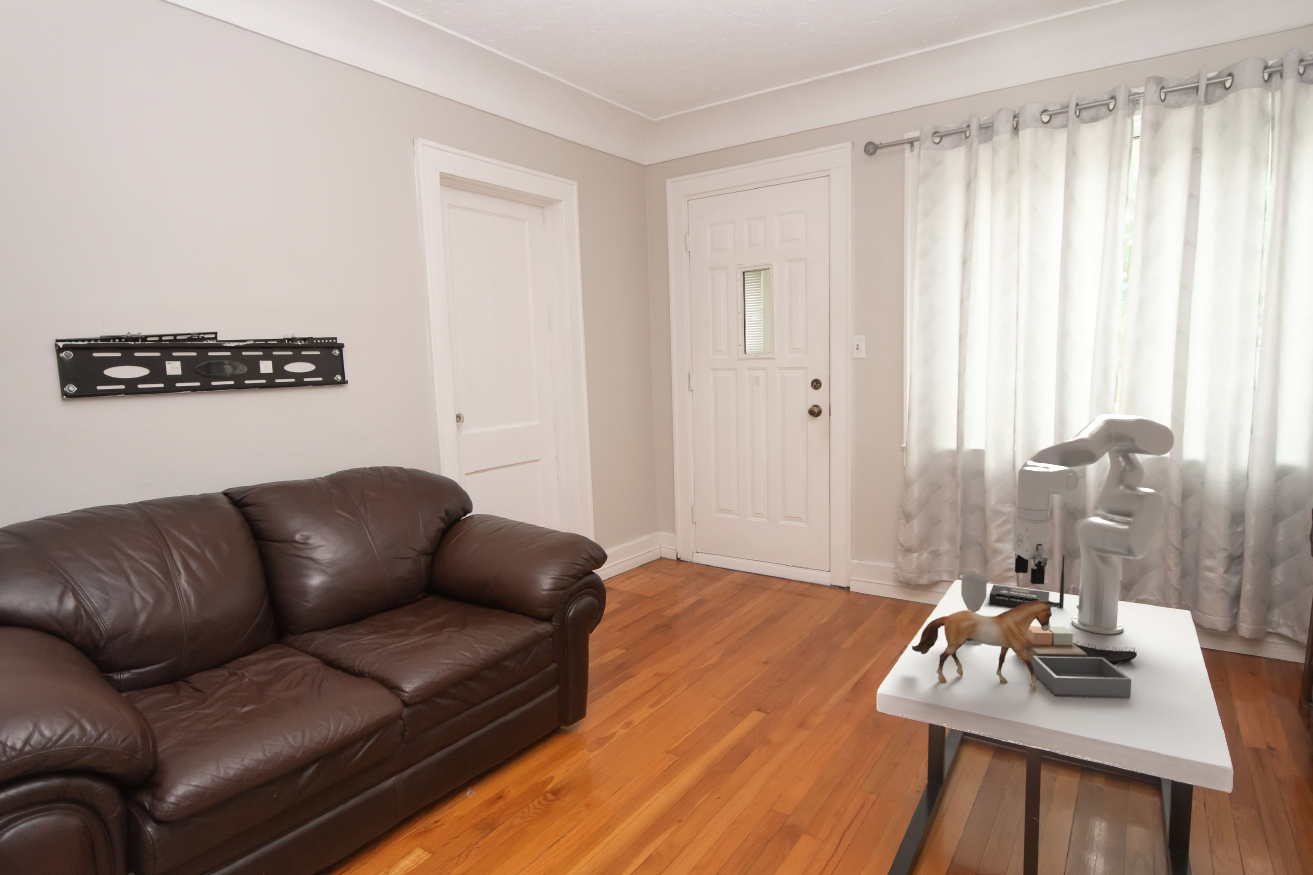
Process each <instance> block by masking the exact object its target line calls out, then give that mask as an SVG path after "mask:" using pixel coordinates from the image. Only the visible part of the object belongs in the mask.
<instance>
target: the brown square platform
mask: <svg viewBox="0 0 1313 875" xmlns="http://www.w3.org/2000/svg"><path fill="white" fill-rule="evenodd" d="M1074 643H1075V642H1073V645H1054V644H1052V645H1046V644H1032V643H1031V642H1030V641H1029V640H1028V644H1027V646H1026V648H1025V650H1026V652H1027V654H1028V657H1029V659H1030V662H1031V663H1032V656H1064V657H1087V654H1086V653H1085V652H1084V651H1082V650H1081V649H1080V648H1079V647H1077V646H1076V645H1075V644H1076V643H1075V644H1074Z"/></svg>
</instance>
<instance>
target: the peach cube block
mask: <svg viewBox="0 0 1313 875" xmlns="http://www.w3.org/2000/svg"><path fill="white" fill-rule="evenodd" d="M1027 638H1028V640H1029V641H1030V642H1031V643H1032V644H1046V645H1052V633H1051V632H1050V631H1049V630H1047V631H1043V630H1042V629H1041V625H1039V626H1037V625H1034V626H1032V625H1030V627H1029V628H1028V630H1027Z"/></svg>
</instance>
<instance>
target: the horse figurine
mask: <svg viewBox="0 0 1313 875" xmlns="http://www.w3.org/2000/svg"><path fill="white" fill-rule="evenodd" d="M1051 601H1052V600H1049V601H1047V602H1044V603H1043V602H1041V601H1038V600H1035V601H1031V602H1026V603H1023V604H1021V605H1019V606H1017V607H1015V608H1011V609H1009V610H1006V611H1003V612H1001V613H1000V614H997V615H993V616H988V615H983V614H979V613H976V612H975V613H974V612H971V611H970V610H968V609H963V610H960V611H955V612H954V613H951V614H949V615H945V616H941V617H938V618H935V619H933V620H932V621H930V622H929V623H927V625H926V626H925V627H924V629H923V631H921V632H922V633H921V635H920V640H919V642H918V644H917V645H912V646H911V649H912V650H913V651H914V652H915V653H916V652H918V653H920V654H921V655H926V654H927V653H928V652H929V651H930V649H931V648H932V647H933V646H934V645H935V644H936V642H937V641H938V639H939V629H940V628H941V627H943V626H944V627H943V629H944V630H943V631H944V636H945V640H946V643H947V646H946V647H945V649H944V651H943V652H941V653H940V654H939V662H938V663H939V664H938V667H937V669H936V674H938V676H937V679H938V681H939V682H941V683H947V679H946V676H945V675H944V672H943V670H944V669H943V668H944V664H945V662H946V661H947V659H948V658H949V657H950V656H951V657H952V659H953V661H954V663H955V666H956V667H957V669H956V673H957V675H958V676H960V678H962V677H963V676H964V670H963V666H962V662H960V659H959V658H958V656H957V652H958V650H959V649H960V648H961V647H962V646H963V645H965V644H966V643H965V642H966V641H972V640H974V641H977V642H979V643H982V644H981V645H987V646H993V647H1000V653H999V655H998V656H999V657H998V666H997V670H996V671H995V672H996V676H998V679H999V682H1000V683H1001V684H1008V680H1007V679H1006V678H1007V677H1005V676H1004V675H1003V674H1002V668H1003V665H1004V663H1005V661H1006V655H1007V653H1008V651H1009V649H1011V651H1013V653H1015V654H1016V656H1017V657H1018V658H1019V659H1020V660H1021V661H1022V663H1024V665H1025V666H1026V667H1027V669H1028V671H1029V673H1030V680H1031V682H1029V685H1028V686H1029V688H1030V689H1031V690H1032V691H1033V692H1036V690H1037V684H1036V682H1037V679H1036V677H1035V673H1034V668H1033V665H1032V663H1031V662H1030V659H1029V657H1028V654H1027V652H1026V650H1025V648H1026V646H1027V644H1028V638H1027V630H1028V628H1029V627H1030V626H1032V623H1033V622H1034V620H1035V619H1036V622H1038V623H1039V624H1040V625H1039V626H1041V629H1042V630H1043V631H1047V630H1048V629H1049V628H1050V627H1051V624H1050V618H1051V617H1052V616H1053V613H1052V609H1051V608H1053V607H1054V604H1052V605H1048V604H1049V603H1050V602H1051Z"/></svg>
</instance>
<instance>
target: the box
mask: <svg viewBox="0 0 1313 875" xmlns="http://www.w3.org/2000/svg"><path fill="white" fill-rule="evenodd" d="M1032 665H1033V668H1034V673H1035V677H1036V681H1038V682H1039V683H1040V684H1041V685H1042V686H1043V687H1044V688H1045V689H1046V690H1047V691H1048V692H1049V693H1050V694H1051V695H1052V696H1053V697H1057V698H1058V697H1062V698H1065V697H1067V698H1094V699H1095V698H1097V699H1098V698H1103V699H1131V695H1132V693H1131V692H1132V679H1131V677H1129V676H1128V675H1126V674H1125V673H1124V672H1123V671H1121V670H1120V669H1119V668H1117V667H1116V666H1115V664H1111V663H1110V662H1108V661H1107V660H1106V659H1105V658H1103V657H1064V656H1032Z"/></svg>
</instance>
